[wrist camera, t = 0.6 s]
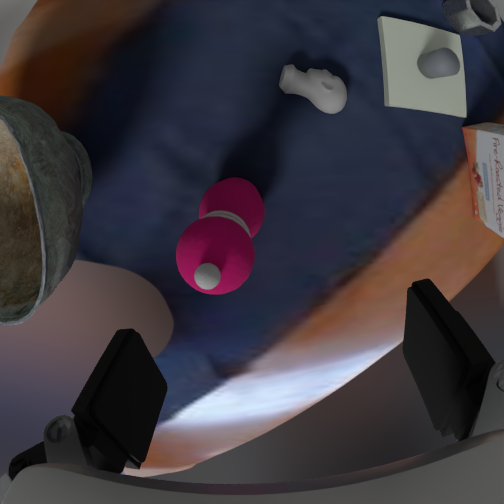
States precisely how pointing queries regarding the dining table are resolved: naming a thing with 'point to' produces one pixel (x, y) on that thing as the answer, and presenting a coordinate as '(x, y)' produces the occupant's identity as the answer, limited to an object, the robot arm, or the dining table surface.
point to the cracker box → (487, 173)
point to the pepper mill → (221, 237)
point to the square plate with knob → (422, 67)
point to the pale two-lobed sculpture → (315, 87)
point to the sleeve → (472, 16)
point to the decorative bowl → (37, 206)
